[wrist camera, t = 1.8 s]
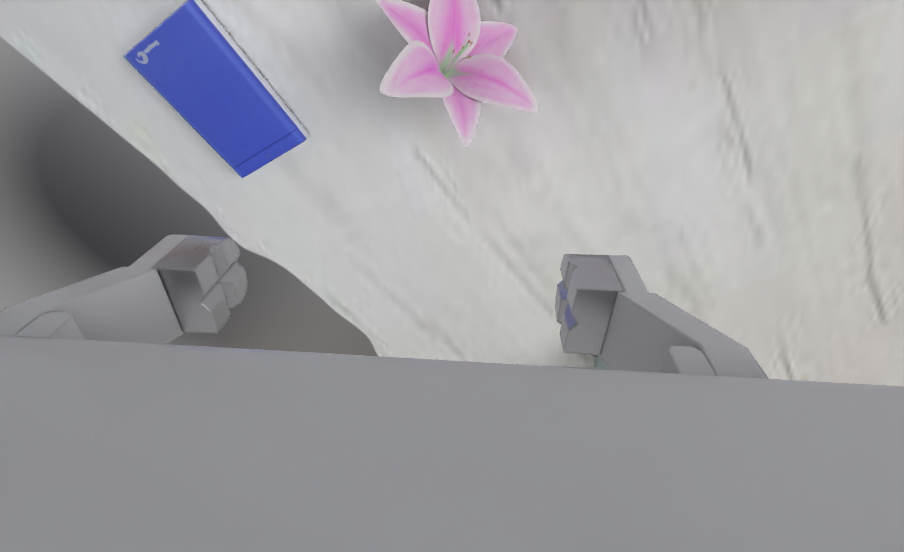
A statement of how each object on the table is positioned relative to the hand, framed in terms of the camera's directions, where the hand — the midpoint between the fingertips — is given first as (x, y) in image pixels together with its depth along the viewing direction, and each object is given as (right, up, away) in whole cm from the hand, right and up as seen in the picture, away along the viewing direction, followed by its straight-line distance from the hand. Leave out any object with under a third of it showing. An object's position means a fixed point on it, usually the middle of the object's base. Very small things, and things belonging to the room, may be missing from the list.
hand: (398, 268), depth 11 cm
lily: (+2, +18, +24) cm, 30 cm away
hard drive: (-18, +15, +27) cm, 36 cm away
